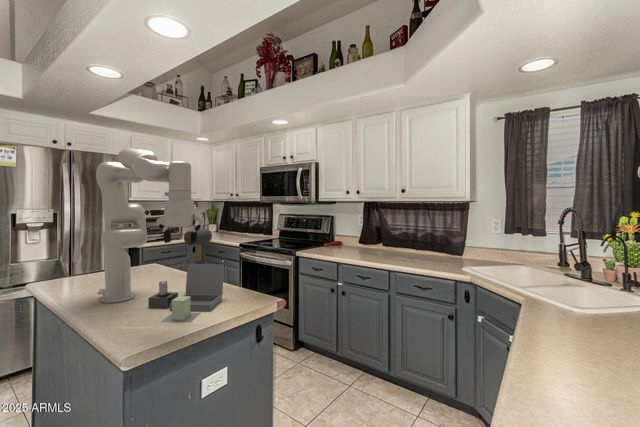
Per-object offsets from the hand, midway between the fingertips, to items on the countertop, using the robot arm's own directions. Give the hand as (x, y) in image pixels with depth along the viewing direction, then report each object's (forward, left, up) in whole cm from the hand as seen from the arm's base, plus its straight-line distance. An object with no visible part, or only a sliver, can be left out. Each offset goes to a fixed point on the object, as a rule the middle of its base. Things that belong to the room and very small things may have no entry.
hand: (180, 242), depth 112 cm
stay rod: (-14, +13, -28) cm, 34 cm away
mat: (0, 0, -28) cm, 28 cm away
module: (0, 0, -28) cm, 28 cm away
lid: (0, +21, -19) cm, 28 cm away
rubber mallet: (-9, +35, -28) cm, 46 cm away
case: (0, +13, -28) cm, 31 cm away
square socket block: (-14, +13, -28) cm, 34 cm away
